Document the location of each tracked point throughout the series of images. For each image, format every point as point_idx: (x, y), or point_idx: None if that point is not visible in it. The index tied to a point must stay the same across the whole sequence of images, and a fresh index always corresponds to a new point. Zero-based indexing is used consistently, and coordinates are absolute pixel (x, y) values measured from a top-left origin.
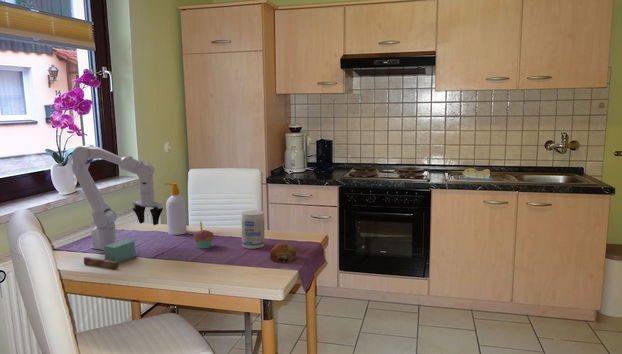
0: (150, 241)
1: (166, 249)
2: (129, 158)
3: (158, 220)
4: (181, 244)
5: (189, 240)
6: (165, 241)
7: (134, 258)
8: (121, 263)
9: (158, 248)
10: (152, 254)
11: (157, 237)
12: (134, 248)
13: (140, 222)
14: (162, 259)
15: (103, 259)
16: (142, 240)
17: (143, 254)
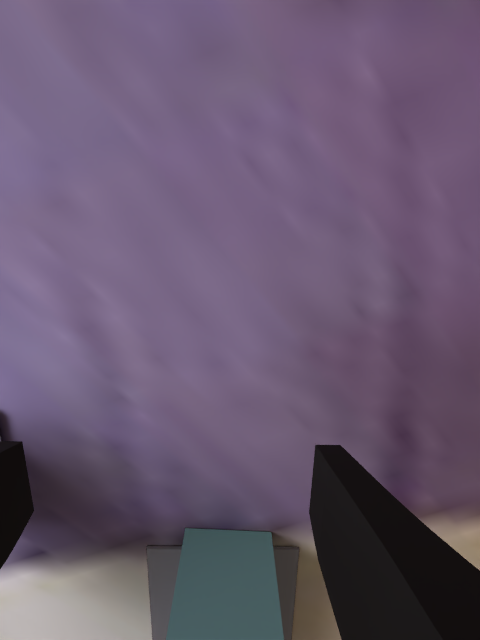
0: (101, 230)
1: (376, 361)
2: None
3: (379, 488)
4: (420, 207)
5: (427, 56)
6: (226, 179)
7: (297, 561)
8: (291, 634)
9: (303, 363)
10: None
11: (51, 83)
12: (276, 586)
13: (20, 527)
14: (468, 521)
15: (152, 628)
16: (10, 230)
17: (294, 492)
